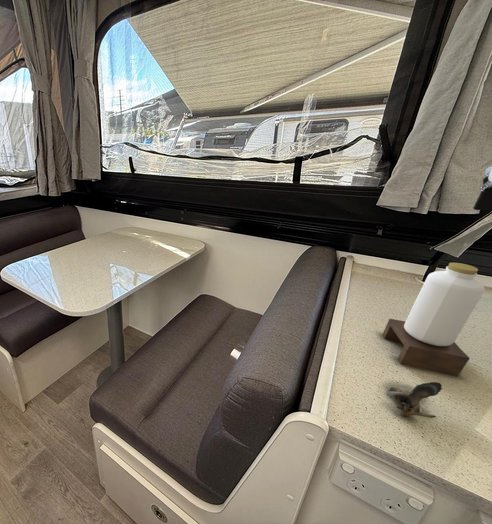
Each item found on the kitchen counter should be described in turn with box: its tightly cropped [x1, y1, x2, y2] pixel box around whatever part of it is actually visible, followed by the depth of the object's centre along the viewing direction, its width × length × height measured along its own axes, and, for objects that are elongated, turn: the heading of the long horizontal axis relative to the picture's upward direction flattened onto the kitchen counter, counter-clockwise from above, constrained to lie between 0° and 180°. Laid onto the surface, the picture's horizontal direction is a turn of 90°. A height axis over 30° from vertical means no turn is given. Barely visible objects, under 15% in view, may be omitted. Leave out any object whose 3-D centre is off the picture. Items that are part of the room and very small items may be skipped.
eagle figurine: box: [386, 381, 443, 419], centre depth 51 cm, size 8×7×9 cm
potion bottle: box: [404, 262, 486, 346], centre depth 59 cm, size 8×8×18 cm
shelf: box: [381, 318, 471, 378], centre depth 64 cm, size 10×11×6 cm
